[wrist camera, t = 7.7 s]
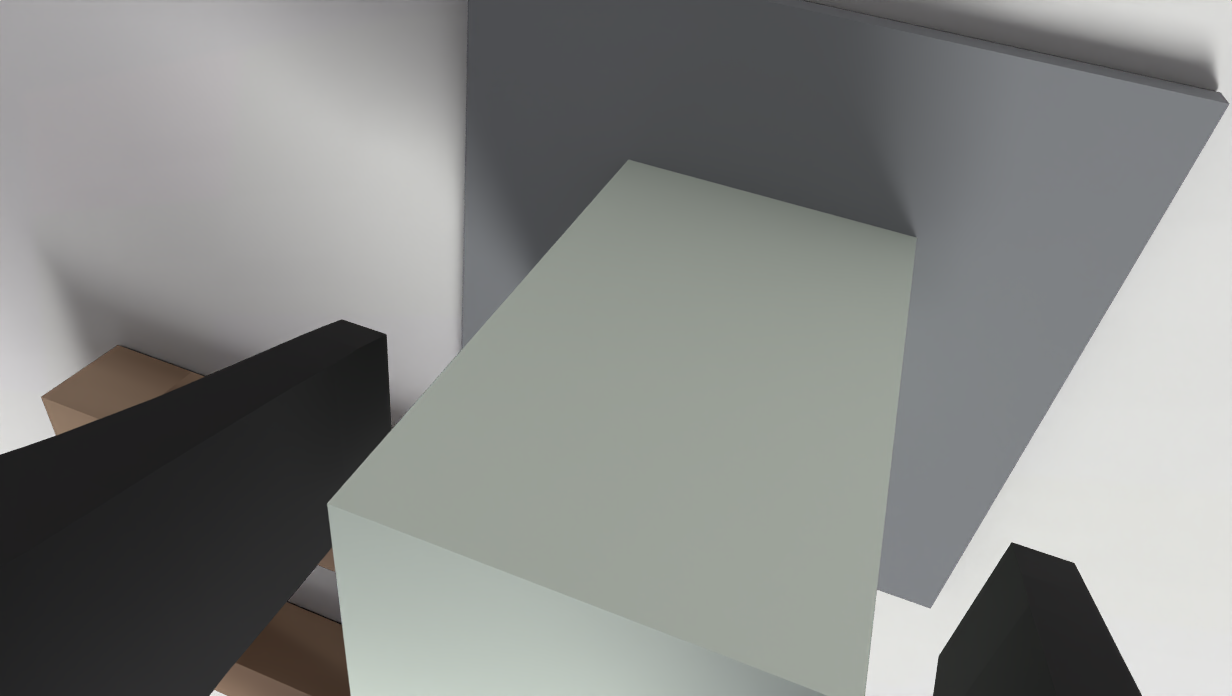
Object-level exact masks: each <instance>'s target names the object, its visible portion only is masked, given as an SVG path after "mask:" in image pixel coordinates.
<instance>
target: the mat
mask: <svg viewBox="0 0 1232 696" xmlns="http://www.w3.org/2000/svg"><path fill="white" fill-rule="evenodd" d="M1228 105H1229V103H1228V102H1227V100H1226V99H1225V98H1224V96H1223V95H1222V94H1221V93H1220V92H1215V91H1211V90H1206V89H1202V88H1197V87H1193V86H1188V85H1184V84H1179V83H1175V82H1170V81H1166V80H1161V79H1157V78H1152V77H1147V76H1143V75H1138V74H1134V73H1129V72H1125V71H1120V70H1116V69H1111V68H1107V67H1102V66H1098V65H1093V64H1089V63H1084V62H1080V61H1075V60H1070V59H1066V58H1061V57H1057V56H1052V55H1048V54H1043V53H1039V52H1034V51H1030V50H1025V49H1021V48H1016V47H1012V46H1007V45H1002V44H998V43H993V42H989V41H984V40H980V39H975V38H971V37H966V36H962V35H957V34H953V33H948V32H944V31H939V30H935V29H930V28H925V27H921V26H916V25H912V24H907V23H903V22H898V21H894V20H889V19H885V18H880V17H876V16H871V15H867V14H862V13H858V12H853V11H848V10H844V9H839V8H835V7H830V6H826V5H821V4H817V3H812V2H808V1H803V0H468V44H467V101H466V157H465V213H464V269H463V325H462V349H463V348H464V347H465V345H466V344H467V343H468V342H469V341H470V340H471V339H472V338H473V336H474V335H475V334H476V333H477V332H478V331H479V330H480V328H481V327H482V326H483V325H484V324H485V323H486V322H487V320H488V319H489V318H490V317H491V316H492V315H493V314H494V312H495V311H496V310H497V309H498V308H499V307H500V306H501V304H502V303H503V302H504V301H505V300H506V299H507V298H508V296H509V295H510V294H511V293H512V292H513V291H514V290H515V288H516V287H517V286H518V285H519V284H520V283H521V282H522V280H523V279H524V278H525V277H526V276H527V275H528V274H529V272H530V271H531V270H532V269H533V268H534V267H535V266H536V264H537V263H538V262H539V261H540V260H541V259H542V258H543V256H544V255H545V254H546V253H547V252H548V251H549V250H550V248H551V247H552V246H553V245H554V244H555V243H556V242H557V240H558V239H559V238H560V237H561V236H562V235H563V234H564V233H565V231H566V230H567V229H568V228H569V227H570V226H571V225H572V223H573V222H574V221H575V220H576V219H577V218H578V217H579V215H580V214H581V213H582V212H583V211H584V210H585V209H586V207H587V206H588V205H589V204H590V203H591V202H592V201H593V199H594V198H595V197H596V196H597V195H598V194H599V193H600V191H601V190H602V189H603V188H604V187H605V186H606V185H607V183H608V182H609V181H610V180H611V179H612V178H613V177H614V175H615V174H616V173H617V172H618V171H619V170H620V169H621V167H622V166H623V165H624V164H625V163H626V162H627V161H628V160H632V161H636V162H639V163H643V164H647V165H650V166H654V167H658V168H662V169H665V170H669V171H673V172H676V173H680V174H684V175H687V176H691V177H695V178H698V179H702V180H706V181H710V182H713V183H717V184H721V185H724V186H728V187H732V188H735V189H739V190H743V191H746V192H750V193H754V194H758V195H761V196H765V197H769V198H772V199H776V200H780V201H783V202H787V203H791V204H794V205H798V206H802V207H806V208H809V209H813V210H817V211H820V212H824V213H828V214H831V215H835V216H839V217H843V218H846V219H850V220H854V221H857V222H861V223H865V224H868V225H872V226H876V227H879V228H883V229H887V230H891V231H894V232H898V233H902V234H905V235H909V236H913V237H916V238H917V240H916V249H915V258H914V266H913V275H912V284H911V293H910V302H909V311H908V319H907V328H906V337H905V346H904V355H903V363H902V372H901V381H900V390H899V399H898V408H897V416H896V425H895V434H894V443H893V452H892V461H891V469H890V478H889V487H888V496H887V505H886V513H885V522H884V531H883V540H882V549H881V558H880V566H879V575H878V584H877V590H880V591H883V592H885V593H888V594H891V595H894V596H897V597H900V598H902V599H905V600H908V601H911V602H914V603H917V604H919V605H922V606H925V607H928V608H931V607H932V605H933V603H934V602H935V600H936V598H937V597H938V595H939V593H940V592H941V590H942V588H943V586H944V585H945V583H946V581H947V580H948V578H949V576H950V575H951V573H952V571H953V570H954V568H955V566H956V565H957V563H958V561H959V559H960V558H961V556H962V554H963V553H964V551H965V549H966V548H967V546H968V544H969V543H970V541H971V539H972V537H973V536H974V534H975V532H976V531H977V529H978V527H979V526H980V524H981V522H982V521H983V519H984V517H985V516H986V514H987V512H988V510H989V509H990V507H991V505H992V504H993V502H994V500H995V499H996V497H997V495H998V494H999V492H1000V490H1001V489H1002V487H1003V485H1004V483H1005V482H1006V480H1007V478H1008V477H1009V475H1010V473H1011V472H1012V470H1013V468H1014V467H1015V465H1016V463H1017V462H1018V460H1019V458H1020V456H1021V455H1022V453H1023V451H1024V450H1025V448H1026V446H1027V445H1028V443H1029V441H1030V440H1031V438H1032V436H1033V435H1034V433H1035V431H1036V429H1037V428H1038V426H1039V424H1040V423H1041V421H1042V419H1043V418H1044V416H1045V414H1046V413H1047V411H1048V409H1049V408H1050V406H1051V404H1052V402H1053V401H1054V399H1055V397H1056V396H1057V394H1058V392H1059V391H1060V389H1061V387H1062V386H1063V384H1064V382H1065V380H1066V379H1067V377H1068V375H1069V374H1070V372H1071V370H1072V369H1073V367H1074V365H1075V364H1076V362H1077V360H1078V359H1079V357H1080V355H1081V353H1082V352H1083V350H1084V348H1085V347H1086V345H1087V343H1088V342H1089V340H1090V338H1091V337H1092V335H1093V333H1094V332H1095V330H1096V328H1097V326H1098V325H1099V323H1100V321H1101V320H1102V318H1103V316H1104V315H1105V313H1106V311H1107V310H1108V308H1109V306H1110V305H1111V303H1112V301H1113V299H1114V298H1115V296H1116V294H1117V293H1118V291H1119V289H1120V288H1121V286H1122V284H1123V283H1124V281H1125V279H1126V278H1127V276H1128V274H1129V272H1130V271H1131V269H1132V267H1133V266H1134V264H1135V262H1136V261H1137V259H1138V257H1139V256H1140V254H1141V252H1142V250H1143V249H1144V247H1145V245H1146V244H1147V242H1148V240H1149V239H1150V237H1151V235H1152V234H1153V232H1154V230H1155V229H1156V227H1157V225H1158V223H1159V222H1160V220H1161V218H1162V217H1163V215H1164V213H1165V212H1166V210H1167V208H1168V207H1169V205H1170V203H1171V202H1172V200H1173V198H1174V196H1175V195H1176V193H1177V191H1178V190H1179V188H1180V186H1181V185H1182V183H1183V181H1184V180H1185V178H1186V176H1187V175H1188V173H1189V171H1190V169H1191V168H1192V166H1193V164H1194V163H1195V161H1196V159H1197V158H1198V156H1199V154H1200V153H1201V151H1202V149H1203V148H1204V146H1205V144H1206V142H1207V141H1208V139H1209V137H1210V136H1211V134H1212V132H1213V131H1214V129H1215V127H1216V126H1217V124H1218V122H1219V120H1220V119H1221V117H1222V115H1223V114H1224V112H1225V110H1226V109H1227V107H1228Z"/></svg>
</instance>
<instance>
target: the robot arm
mask: <svg viewBox="0 0 1232 696" xmlns="http://www.w3.org/2000/svg"><path fill="white" fill-rule="evenodd" d="M390 431H391V413H390V393H389V374H388V354H387V335H386V334H384V333H381V332H378V331H375V330H372V329H369V328H366V327H363V326H360V325H357V324H354V323H351V322H348V321H345V320H339V321H337V322H334V323H331V324H329V325H326V326H323V327H321V328H318V329H316V330H313V331H311V332H308V333H306V334H304V335H301V336H299V337H297V338H294V339H292V340H289V341H287V342H285V343H282V344H280V345H278V346H275V347H273V348H271V349H269V350H266V351H264V352H262V353H259V354H257V355H255V356H252V357H250V358H248V359H245V360H243V361H241V362H239V363H236V364H234V365H232V366H229V367H227V368H224V369H222V370H220V371H217V372H215V373H213V374H210V375H208V376H206V377H203V378H201V379H198V380H196V381H194V382H191V383H189V384H187V385H184V386H182V387H179V388H177V389H175V390H172V391H170V392H168V393H165V394H163V395H160V396H158V397H156V398H153V399H151V400H148V401H145V402H143V403H140V404H137V405H135V406H132V407H130V408H127V409H124V410H122V411H119V412H117V413H114V414H111V415H109V416H106V417H103V418H101V419H98V420H96V421H93V422H90V423H88V424H85V425H82V426H80V427H77V428H75V429H72V430H69V431H67V432H64V433H62V434H59V435H56V436H54V437H51V438H48V439H45V440H42V441H40V442H37V443H34V444H31V445H28V446H25V447H22V448H19V449H16V450H13V451H10V452H7V453H4V454H1V455H0V696H209V695H210V694H211V693H212V692H213V690H214V689H215V688H216V686H217V685H218V684H219V683H220V681H221V680H222V679H223V677H224V676H225V675H226V674H227V672H228V671H229V670H230V669H231V668H232V666H233V665H234V664H235V663H236V662H237V660H238V659H239V658H240V657H241V656H242V655H243V653H244V652H245V651H246V650H247V649H248V647H249V646H250V645H251V644H252V643H253V641H254V640H255V639H256V638H257V637H258V635H259V634H260V633H261V632H262V631H263V630H264V628H265V627H266V626H267V625H268V624H269V622H270V621H271V620H272V619H273V618H274V616H275V615H276V614H277V613H278V612H279V610H280V609H281V608H282V607H283V606H284V604H285V603H286V602H287V601H288V600H289V599H290V597H291V596H292V595H293V594H294V593H295V591H296V590H297V589H298V588H299V587H300V585H301V584H302V583H303V582H304V581H305V580H306V578H307V577H308V576H309V575H310V573H311V572H312V571H313V570H314V569H315V567H316V566H317V565H318V564H319V563H320V561H321V560H322V559H323V558H324V557H325V555H326V554H327V553H328V552H329V550H330V549H331V548H332V539H331V531H330V523H329V515H328V507H327V503H328V502H329V501H330V500H331V498H332V497H333V496H334V495H335V494H336V493H337V492H338V490H339V489H340V488H341V487H342V486H343V485H344V484H345V482H346V481H347V480H348V479H349V478H350V477H351V476H352V474H353V473H354V472H355V471H356V470H357V469H358V468H359V466H360V465H361V464H362V463H363V462H364V461H365V460H366V458H367V457H368V456H369V455H370V454H371V453H372V452H373V450H374V449H375V448H376V447H377V446H378V445H379V444H380V443H381V441H382V440H383V439H384V438H385V437H386V436H387V435H388V433H389V432H390ZM933 696H1142V695H1141V693H1140V691H1139V689H1138V687H1137V685H1136V683H1135V681H1134V679H1133V677H1132V675H1131V673H1130V671H1129V669H1128V668H1127V666H1126V664H1125V662H1124V660H1123V658H1122V656H1121V654H1120V652H1119V650H1118V648H1117V646H1116V644H1115V642H1114V640H1113V638H1112V636H1111V634H1110V632H1109V630H1108V628H1107V626H1106V624H1105V622H1104V620H1103V618H1102V616H1101V614H1100V612H1099V610H1098V608H1097V606H1096V604H1095V602H1094V601H1093V599H1092V597H1091V595H1090V593H1089V591H1088V589H1087V587H1086V585H1085V583H1084V581H1083V579H1082V577H1081V575H1080V573H1079V571H1078V569H1077V567H1076V565H1075V564H1074V563H1072V562H1069V561H1066V560H1063V559H1060V558H1057V557H1054V556H1051V555H1048V554H1045V553H1042V552H1039V551H1036V550H1033V549H1030V548H1027V547H1024V546H1021V545H1018V544H1015V543H1011V544H1010V546H1009V547H1008V549H1007V550H1006V552H1005V553H1004V555H1003V557H1002V558H1001V560H1000V561H999V563H998V564H997V566H996V568H995V569H994V571H993V572H992V574H991V575H990V577H989V578H988V580H987V582H986V583H985V585H984V586H983V588H982V589H981V591H980V593H979V594H978V596H977V597H976V599H975V600H974V602H973V604H972V605H971V607H970V608H969V610H968V611H967V613H966V614H965V616H964V618H963V619H962V621H961V622H960V624H959V625H958V627H957V629H956V630H955V632H954V633H953V635H952V636H951V638H950V639H949V641H948V643H947V644H946V646H945V647H944V649H943V650H942V652H941V654H940V655H939V658H938V665H937V672H936V679H935V686H934V693H933Z"/></svg>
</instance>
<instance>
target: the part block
mask: <svg viewBox="0 0 1232 696" xmlns="http://www.w3.org/2000/svg"><path fill="white" fill-rule="evenodd" d="M916 240H917V238H916V237H913V236H909V235H905V234H902V233H898V232H894V231H891V230H887V229H883V228H879V227H876V226H872V225H868V224H865V223H861V222H857V221H854V220H850V219H846V218H843V217H839V216H835V215H831V214H828V213H824V212H820V211H817V210H813V209H809V208H806V207H802V206H798V205H794V204H791V203H787V202H783V201H780V200H776V199H772V198H769V197H765V196H761V195H758V194H754V193H750V192H746V191H743V190H739V189H735V188H732V187H728V186H724V185H721V184H717V183H713V182H710V181H706V180H702V179H698V178H695V177H691V176H687V175H684V174H680V173H676V172H673V171H669V170H665V169H662V168H658V167H654V166H650V165H647V164H643V163H639V162H636V161H632V160H628V161H627V162H626V163H625V164H624V165H623V166H622V167H621V169H620V170H619V171H618V172H617V173H616V174H615V175H614V177H613V178H612V179H611V180H610V181H609V182H608V183H607V185H606V186H605V187H604V188H603V189H602V190H601V191H600V193H599V194H598V195H597V196H596V197H595V198H594V199H593V201H592V202H591V203H590V204H589V205H588V206H587V207H586V209H585V210H584V211H583V212H582V213H581V214H580V215H579V217H578V218H577V219H576V220H575V221H574V222H573V223H572V225H571V226H570V227H569V228H568V229H567V230H566V231H565V233H564V234H563V235H562V236H561V237H560V238H559V239H558V240H557V242H556V243H555V244H554V245H553V246H552V247H551V248H550V250H549V251H548V252H547V253H546V254H545V255H544V256H543V258H542V259H541V260H540V261H539V262H538V263H537V264H536V266H535V267H534V268H533V269H532V270H531V271H530V272H529V274H528V275H527V276H526V277H525V278H524V279H523V280H522V282H521V283H520V284H519V285H518V286H517V287H516V288H515V290H514V291H513V292H512V293H511V294H510V295H509V296H508V298H507V299H506V300H505V301H504V302H503V303H502V304H501V306H500V307H499V308H498V309H497V310H496V311H495V312H494V314H493V315H492V316H491V317H490V318H489V319H488V320H487V322H486V323H485V324H484V325H483V326H482V327H481V328H480V330H479V331H478V332H477V333H476V334H475V335H474V336H473V338H472V339H471V340H470V341H469V342H468V343H467V344H466V345H465V347H464V348H463V349H462V350H461V351H460V352H459V353H458V355H457V356H456V357H455V358H454V359H453V360H452V361H451V363H450V364H449V365H448V366H447V367H446V368H445V369H444V371H443V372H442V373H441V374H440V375H439V376H438V377H437V379H436V380H435V381H434V382H433V383H432V384H431V385H430V387H429V388H428V389H427V390H426V391H425V392H424V393H423V395H422V396H421V397H420V398H419V399H418V400H417V401H416V403H415V404H414V405H413V406H412V407H411V408H410V409H409V411H408V412H407V413H406V414H405V415H404V416H403V417H402V419H401V420H400V421H399V422H398V423H397V424H396V425H395V427H394V428H393V429H392V430H391V431H390V432H389V433H388V435H387V436H386V437H385V438H384V439H383V440H382V441H381V443H380V444H379V445H378V446H377V447H376V448H375V449H374V450H373V452H372V453H371V454H370V455H369V456H368V457H367V458H366V460H365V461H364V462H363V463H362V464H361V465H360V466H359V468H358V469H357V470H356V471H355V472H354V473H353V474H352V476H351V477H350V478H349V479H348V480H347V481H346V482H345V484H344V485H343V486H342V487H341V488H340V489H339V490H338V492H337V493H336V494H335V495H334V496H333V497H332V498H331V500H330V501H329V502H328V503H327V507H328V515H329V523H330V531H331V539H332V547H333V556H334V564H335V572H336V580H337V588H338V596H339V604H340V612H341V620H342V629H343V637H344V645H345V653H346V661H347V669H348V677H349V685H350V694H351V696H865V690H866V681H867V672H868V664H869V655H870V646H871V637H872V628H873V619H874V611H875V602H876V593H877V584H878V575H879V566H880V558H881V549H882V540H883V531H884V522H885V513H886V505H887V496H888V487H889V478H890V469H891V461H892V452H893V443H894V434H895V425H896V416H897V408H898V399H899V390H900V381H901V372H902V363H903V355H904V346H905V337H906V328H907V319H908V311H909V302H910V293H911V284H912V275H913V266H914V258H915V249H916Z"/></svg>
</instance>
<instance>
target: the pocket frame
mask: <svg viewBox="0 0 1232 696" xmlns="http://www.w3.org/2000/svg"><path fill="white" fill-rule="evenodd" d="M203 377H205V376H202V375H199V374H197V373H194V372H191V371H188V370H185V369H183V368H180V367H177V366H174V365H172V364H169V363H166V362H163V361H161V360H158V359H155V358H152V357H149V356H147V355H144V354H141V353H138V352H136V351H133V350H130V349H127V348H125V347H122V346H119V345H117V346H116V347H114V348H113V349H111V350H110V351H108V352H107V353H105V354H104V355H102V356H101V357H99V358H98V359H97V360H95V361H94V362H92V363H91V364H89V365H88V366H86V367H85V368H83V369H82V370H80V371H79V372H77V373H76V374H74V375H73V376H71V377H70V378H68V379H67V380H65V381H64V382H62V383H61V384H59V385H58V386H57V387H55V388H54V389H52V390H51V391H49V392H48V393H46V394H45V395H43V396H42V397H41V398H42V401H43V403H44V406H45V408H46V411H47V413H48V416H49V419H50V421H51V424H52V426H53V429H54V431H55V434H56V435H59V434H62V433H64V432H67V431H69V430H72V429H75V428H77V427H80V426H82V425H85V424H88V423H90V422H93V421H96V420H98V419H101V418H103V417H106V416H109V415H111V414H114V413H117V412H119V411H122V410H124V409H127V408H130V407H132V406H135V405H137V404H140V403H143V402H145V401H148V400H151V399H153V398H156V397H158V396H160V395H163V394H165V393H168V392H170V391H172V390H175V389H177V388H179V387H182V386H184V385H187V384H189V383H191V382H194V381H196V380H198V379H201V378H203ZM318 565H319V566H321V567H324V568H326V569H329V570H331V571H334V572H335V564H334V556H333V547H332V548H331V549H330V550H329V552H328V553H327V554H326V555H325V557H324V558H323V559H322V560H321V561H320V563H319V564H318ZM214 690H216V691H218V692H220V693H223V694H225V695H227V696H351V694H350V685H349V677H348V669H347V661H346V653H345V645H344V637H343V629H342V625H341V624H338V623H336V622H334V621H331V620H329V619H326V618H324V617H322V616H319V615H317V614H314V613H312V612H309V611H307V610H305V609H302V608H300V607H297V606H295V605H293V604H290V603H288V602H286V603H285V604H284V606H283V607H282V608H281V609H280V610H279V612H278V613H277V614H276V615H275V616H274V618H273V619H272V620H271V621H270V622H269V624H268V625H267V626H266V627H265V628H264V630H263V631H262V632H261V633H260V634H259V635H258V637H257V638H256V639H255V640H254V641H253V643H252V644H251V645H250V646H249V647H248V649H247V650H246V651H245V652H244V653H243V655H242V656H241V657H240V658H239V659H238V660H237V662H236V663H235V664H234V665H233V666H232V668H231V669H230V670H229V671H228V672H227V674H226V675H225V676H224V677H223V679H222V680H221V681H220V683H219V684H218V685H217V686H216V688H215V689H214Z"/></svg>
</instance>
